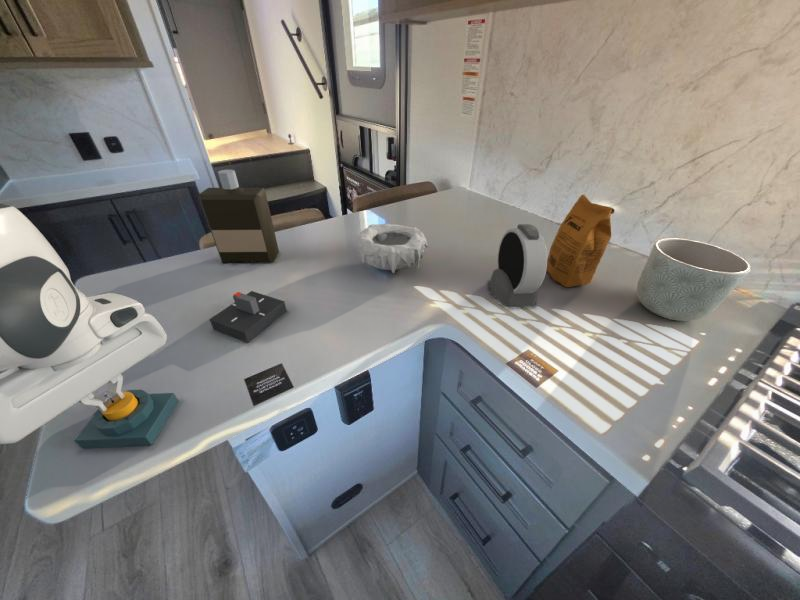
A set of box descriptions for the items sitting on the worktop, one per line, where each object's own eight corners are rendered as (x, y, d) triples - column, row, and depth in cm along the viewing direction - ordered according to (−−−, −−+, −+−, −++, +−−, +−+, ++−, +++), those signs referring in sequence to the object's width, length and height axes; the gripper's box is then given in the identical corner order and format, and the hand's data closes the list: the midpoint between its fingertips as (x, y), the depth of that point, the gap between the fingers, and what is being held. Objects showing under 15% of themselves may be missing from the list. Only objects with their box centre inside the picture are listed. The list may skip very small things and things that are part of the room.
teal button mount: (81, 448, 47) (65, 433, 45) (117, 403, 53) (105, 387, 51) (152, 445, 48) (139, 430, 45) (178, 400, 54) (169, 385, 52)
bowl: (347, 278, 87) (344, 245, 81) (365, 246, 104) (364, 216, 98) (422, 286, 85) (424, 252, 79) (428, 251, 101) (431, 222, 95)
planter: (701, 302, 81) (740, 249, 72) (714, 341, 69) (762, 282, 60) (625, 283, 88) (652, 232, 79) (625, 315, 76) (657, 259, 67)
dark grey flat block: (248, 343, 66) (244, 331, 64) (213, 329, 69) (208, 318, 67) (286, 311, 75) (284, 300, 73) (254, 300, 78) (251, 290, 76)
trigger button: (100, 422, 47) (93, 414, 46) (118, 400, 50) (111, 391, 49) (129, 421, 47) (122, 413, 46) (144, 399, 50) (138, 390, 49)
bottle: (229, 251, 99) (201, 167, 84) (281, 251, 100) (262, 167, 85) (218, 264, 92) (186, 175, 78) (274, 263, 93) (253, 175, 78)
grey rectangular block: (259, 310, 70) (255, 296, 68) (254, 314, 69) (249, 300, 66) (242, 304, 71) (237, 291, 69) (237, 308, 70) (232, 294, 68)
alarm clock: (482, 277, 89) (495, 214, 78) (517, 275, 90) (534, 213, 79) (503, 312, 76) (522, 242, 65) (544, 310, 77) (568, 241, 66)
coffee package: (568, 265, 96) (596, 191, 83) (595, 287, 86) (631, 208, 73) (538, 267, 94) (561, 192, 82) (561, 289, 84) (592, 209, 72)
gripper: (-57, 407, 30) (35, 478, 38) (152, 297, 46) (187, 364, 54) (-86, 386, 32) (7, 457, 40) (124, 287, 48) (162, 353, 56)
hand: (111, 403), depth 47 cm, fingers closed, pressing on trigger button
